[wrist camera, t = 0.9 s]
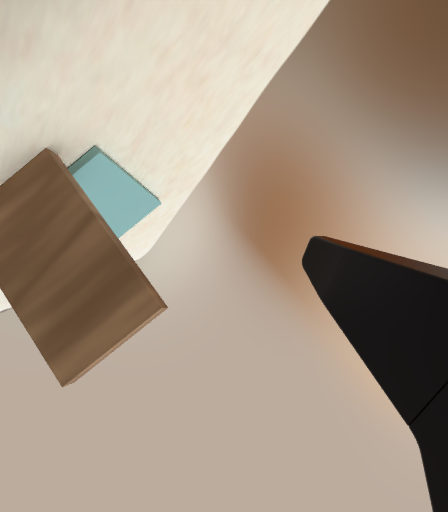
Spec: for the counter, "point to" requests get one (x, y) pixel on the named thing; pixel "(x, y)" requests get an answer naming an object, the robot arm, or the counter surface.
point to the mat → (113, 191)
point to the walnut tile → (68, 270)
